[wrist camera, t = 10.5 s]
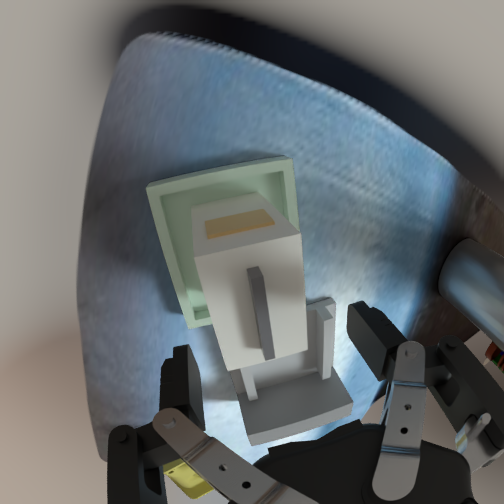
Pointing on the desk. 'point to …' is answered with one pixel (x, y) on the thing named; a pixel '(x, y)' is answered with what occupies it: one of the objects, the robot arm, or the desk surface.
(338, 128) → the desk surface
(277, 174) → the tray
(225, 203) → the labeled white box
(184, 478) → the plastic component
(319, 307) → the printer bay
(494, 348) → the motor
